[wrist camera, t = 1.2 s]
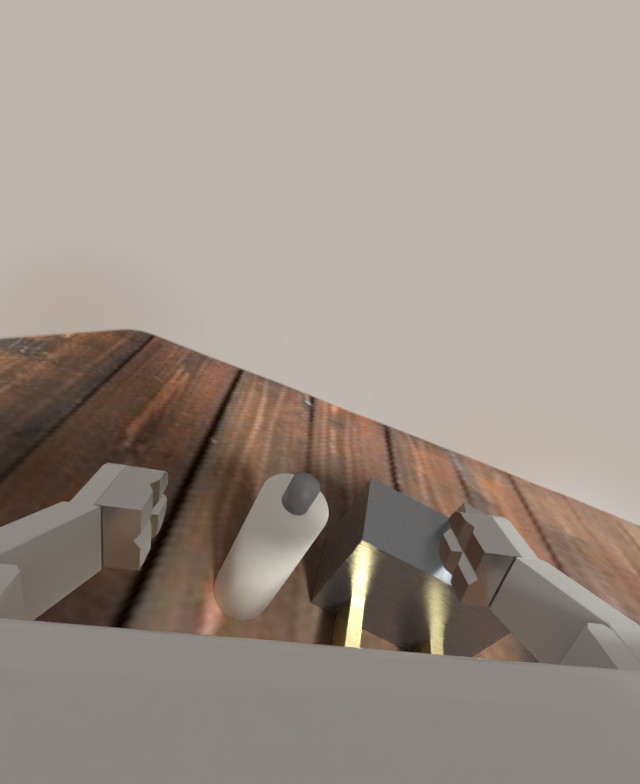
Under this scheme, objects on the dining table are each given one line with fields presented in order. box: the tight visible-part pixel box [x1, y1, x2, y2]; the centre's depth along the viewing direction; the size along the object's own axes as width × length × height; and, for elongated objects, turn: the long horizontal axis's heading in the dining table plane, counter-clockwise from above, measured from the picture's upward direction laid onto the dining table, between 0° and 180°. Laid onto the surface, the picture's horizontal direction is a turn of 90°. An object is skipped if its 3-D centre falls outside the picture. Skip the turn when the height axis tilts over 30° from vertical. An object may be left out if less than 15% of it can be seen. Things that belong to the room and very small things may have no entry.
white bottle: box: [214, 472, 329, 621], centre depth 27 cm, size 5×5×14 cm
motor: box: [311, 478, 511, 657], centre depth 29 cm, size 16×13×13 cm
